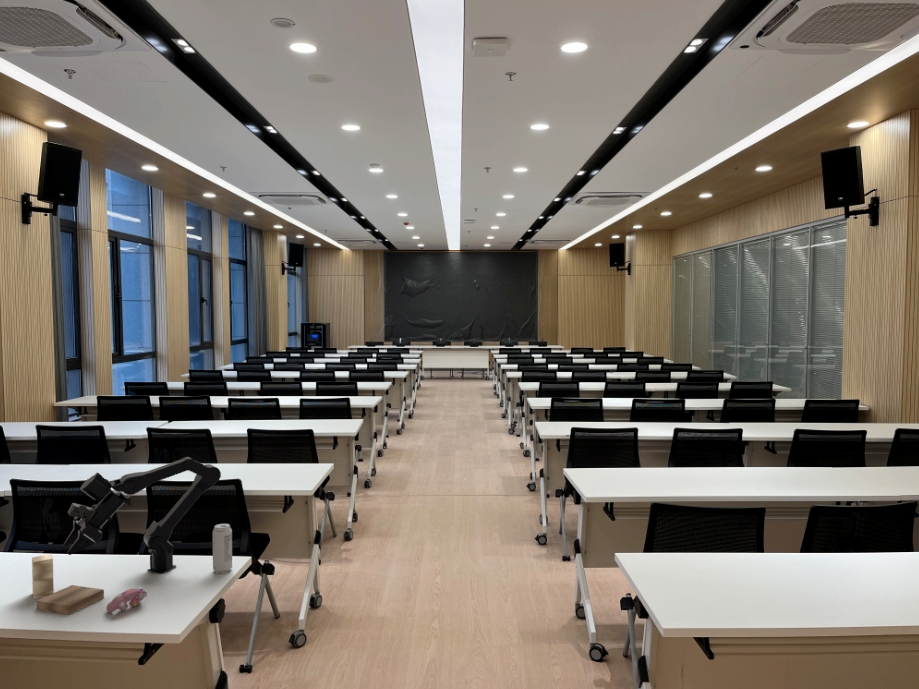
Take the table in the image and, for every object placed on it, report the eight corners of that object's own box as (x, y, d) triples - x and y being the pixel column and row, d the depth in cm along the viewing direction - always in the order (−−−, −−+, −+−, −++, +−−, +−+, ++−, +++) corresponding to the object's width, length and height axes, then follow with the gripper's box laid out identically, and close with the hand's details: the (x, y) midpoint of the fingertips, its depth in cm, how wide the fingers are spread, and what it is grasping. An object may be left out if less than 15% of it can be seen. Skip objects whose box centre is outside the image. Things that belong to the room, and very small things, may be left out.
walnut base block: (103, 597, 198) (103, 589, 198) (69, 614, 187) (69, 605, 187) (72, 593, 202) (72, 584, 202) (36, 609, 190) (36, 600, 190)
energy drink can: (219, 566, 224) (218, 522, 223) (235, 568, 222) (235, 523, 222) (209, 573, 218) (208, 527, 217) (226, 574, 216) (225, 529, 216)
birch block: (51, 589, 205) (51, 554, 204) (53, 594, 201) (52, 558, 200) (32, 593, 202) (31, 557, 201) (34, 598, 198) (33, 562, 197)
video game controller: (112, 620, 186) (118, 601, 184) (103, 610, 188) (109, 590, 186) (144, 608, 195) (151, 589, 193) (136, 598, 197) (142, 579, 195)
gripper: (81, 487, 215) (41, 527, 208) (89, 499, 200) (47, 543, 193) (108, 508, 220) (70, 547, 213) (119, 521, 205) (78, 564, 198)
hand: (66, 550), depth 205 cm, fingers open, 9 cm apart
